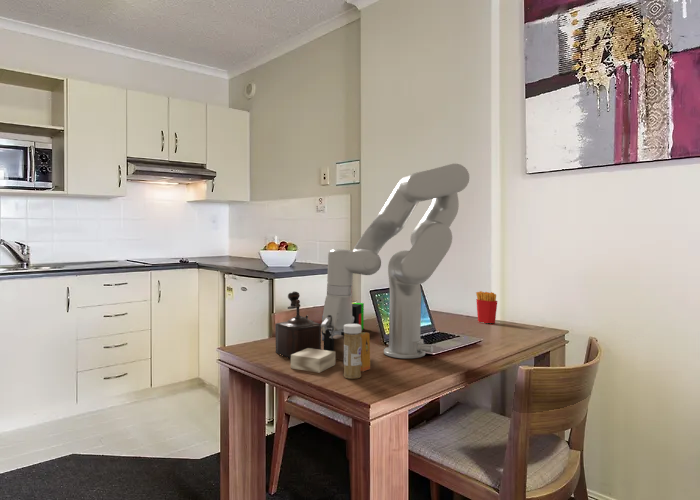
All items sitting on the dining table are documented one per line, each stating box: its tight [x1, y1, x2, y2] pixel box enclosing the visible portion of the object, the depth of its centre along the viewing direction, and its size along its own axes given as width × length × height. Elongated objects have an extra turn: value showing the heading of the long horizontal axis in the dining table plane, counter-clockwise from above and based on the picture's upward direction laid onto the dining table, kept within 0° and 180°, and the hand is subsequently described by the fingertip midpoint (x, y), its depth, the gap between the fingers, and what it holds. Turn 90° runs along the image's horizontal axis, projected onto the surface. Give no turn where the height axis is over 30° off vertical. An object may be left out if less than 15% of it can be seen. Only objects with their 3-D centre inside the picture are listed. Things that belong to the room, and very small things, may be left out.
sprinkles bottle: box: [343, 324, 362, 380], centre depth 125 cm, size 5×5×13 cm
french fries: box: [475, 290, 498, 324], centre depth 203 cm, size 9×4×13 cm, turn 41°
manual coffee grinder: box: [274, 291, 322, 359], centre depth 151 cm, size 16×11×18 cm
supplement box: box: [360, 331, 371, 373], centre depth 132 cm, size 3×3×10 cm
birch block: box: [290, 348, 336, 374], centre depth 135 cm, size 9×9×4 cm
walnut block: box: [333, 335, 344, 361], centre depth 145 cm, size 5×5×6 cm
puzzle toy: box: [352, 302, 365, 331], centre depth 185 cm, size 10×10×10 cm
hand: (337, 348), depth 145 cm, fingers open, 9 cm apart
